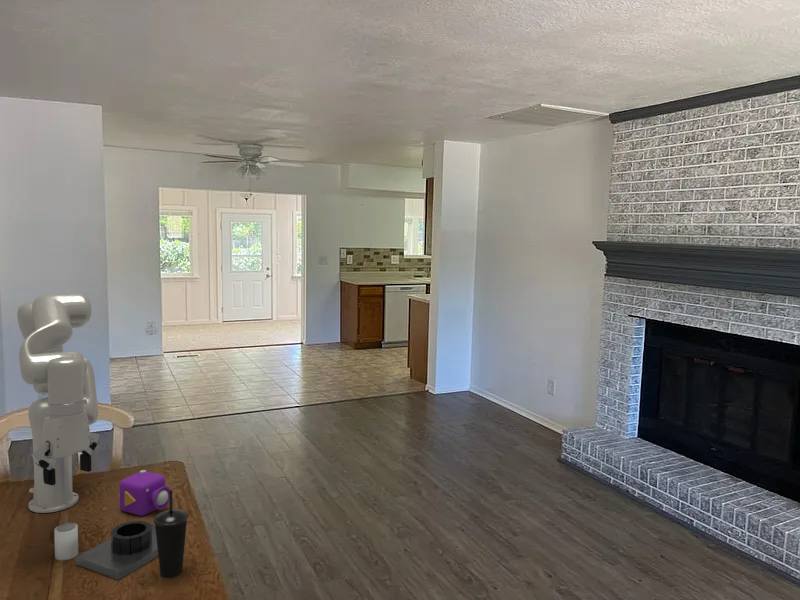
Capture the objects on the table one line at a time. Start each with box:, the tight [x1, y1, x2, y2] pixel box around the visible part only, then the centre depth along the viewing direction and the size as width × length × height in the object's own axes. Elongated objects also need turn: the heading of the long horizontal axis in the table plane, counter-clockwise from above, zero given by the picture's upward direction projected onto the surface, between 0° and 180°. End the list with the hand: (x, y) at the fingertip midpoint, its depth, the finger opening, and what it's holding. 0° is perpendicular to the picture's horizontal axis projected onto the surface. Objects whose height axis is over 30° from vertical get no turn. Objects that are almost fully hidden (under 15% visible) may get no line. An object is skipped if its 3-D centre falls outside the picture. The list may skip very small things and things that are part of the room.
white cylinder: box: [53, 522, 79, 561], centre depth 147 cm, size 5×5×7 cm
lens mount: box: [75, 520, 159, 581], centre depth 149 cm, size 14×20×6 cm
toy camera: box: [119, 469, 171, 517], centre depth 172 cm, size 11×14×10 cm
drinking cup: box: [152, 489, 189, 579], centre depth 140 cm, size 8×8×20 cm
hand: (68, 477), depth 146 cm, fingers open, 9 cm apart
